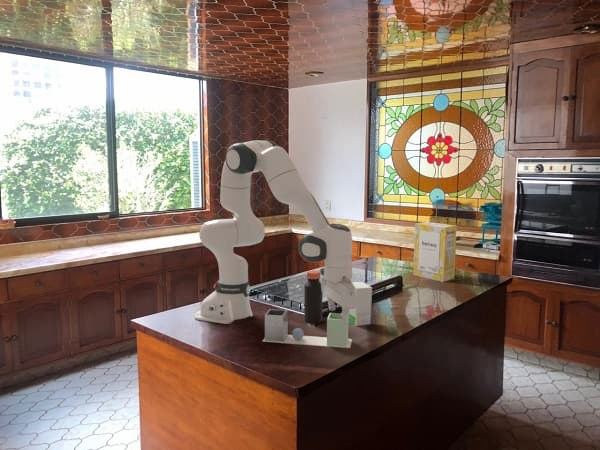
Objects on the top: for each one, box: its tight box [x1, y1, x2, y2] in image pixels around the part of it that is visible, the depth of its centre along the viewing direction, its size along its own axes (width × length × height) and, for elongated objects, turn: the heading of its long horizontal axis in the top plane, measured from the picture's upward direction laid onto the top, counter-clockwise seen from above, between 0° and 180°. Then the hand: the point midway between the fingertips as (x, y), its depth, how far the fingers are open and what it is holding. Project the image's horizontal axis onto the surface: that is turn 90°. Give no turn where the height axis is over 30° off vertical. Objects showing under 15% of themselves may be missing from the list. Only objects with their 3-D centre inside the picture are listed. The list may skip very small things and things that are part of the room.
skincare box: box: [348, 281, 373, 327], centre depth 178 cm, size 8×7×16 cm
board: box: [262, 334, 353, 349], centre depth 160 cm, size 30×8×1 cm, turn 79°
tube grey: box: [264, 308, 289, 343], centre depth 162 cm, size 6×6×9 cm
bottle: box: [303, 270, 323, 324], centre depth 179 cm, size 7×7×20 cm
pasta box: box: [412, 221, 458, 283], centre depth 249 cm, size 18×10×28 cm, turn 41°
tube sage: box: [326, 312, 349, 348], centre depth 158 cm, size 6×6×9 cm
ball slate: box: [291, 327, 305, 340], centre depth 161 cm, size 4×4×4 cm
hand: (337, 314), depth 157 cm, fingers open, 8 cm apart
